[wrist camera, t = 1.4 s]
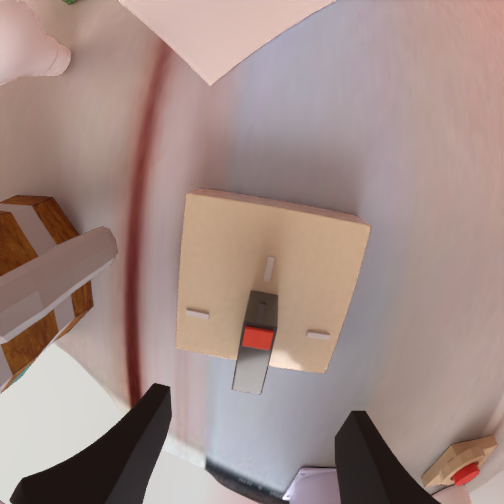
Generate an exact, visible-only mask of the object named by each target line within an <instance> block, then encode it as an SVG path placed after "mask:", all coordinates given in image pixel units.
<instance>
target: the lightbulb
mask: <svg viewBox="0 0 504 504" xmlns="http://www.w3.org/2000/svg"><path fill="white" fill-rule="evenodd" d="M70 61H71V51H70V50H69V49H68V48H66V47H64V46H63V45H61V44H58V43H57V41H56V40H55V39H54V38H52V37H50V36H48V35H47V34H46V33H44V32H43V30H42V29H41V28H40V25H39V23H38V20H37V18H36V16H35V14H34V12H33V11H32V9H31V8H30V7H29V6H28V5H27V4H25V3H23V2H21V1H18V0H1V1H0V86H1V85H4V84H6V83H8V82H10V81H11V80H13V79H15V78H18V77H22V76H41V75H46V76H53V77H56V76H59V75H60V74H62V73H63V72H64V71H65V70H66V69H67V67H68V66H69V64H70Z"/></svg>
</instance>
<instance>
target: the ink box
mask: <svg viewBox="0 0 504 504" xmlns="http://www.w3.org/2000/svg"><path fill="white" fill-rule="evenodd" d="M63 1H64V2H66V3H67V4H71V3H73V2H74V1H76V0H63Z"/></svg>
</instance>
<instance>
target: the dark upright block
mask: <svg viewBox="0 0 504 504" xmlns="http://www.w3.org/2000/svg"><path fill="white" fill-rule="evenodd" d="M278 300H279V296H278V295H276V294H270V293H264V292H259V291H253V290H251V291H250V294H249V299H248V303H247V307H246V312H245V316H244V320H243V325H242V331H241V337H240V343H239V349H238V355H237V361H236V367H235V372H234V378H233V384H232V390H236V391H242V392H247V393H253V394H259V395H260V394H261V393H262V389H263V385H264V381H265V378H266V374H267V370H268V366H269V362H270V358H271V354H272V350H273V346H274V341H275V337H276V333H277V329H278Z"/></svg>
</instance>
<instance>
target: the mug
mask: <svg viewBox="0 0 504 504" xmlns="http://www.w3.org/2000/svg"><path fill="white" fill-rule="evenodd" d="M117 253H118V250H117V244H116V239H115V238H114V236H113V234H112V232H111V231H110V229H109V228H106V227H104V226H102V227H99V228H96V229H94V230H91V231H89V232H86V233H84V234H82V235H79V234H78V233H77V232H76V230H75V229H74V228H73V226H72V225H71V223H70V222H69V220H68V219H67V218H66V216H65V215H64V213H63V212H62V210H61V209H60V207H59V206H58V204H57V203H56V201H55V200H54V198H53V197H43V196H21V195H16V196H14V197H11V198H9V199H7V200H5V201H2V202H0V394H1V393H2V392H3V391H4V390H6V389H7V388H8V387H9V386H10V385H12V384H13V383H14V382H16V381H17V380H18V379H19V378H20V377H21V376H23V374H24V373H25V372H26V371H27V369H28V368H29V367H30V366H31V364H32V363H33V362H34V361H35V359H36V358H37V357H38V356H39V355H40V354H41V353H42V352H43V351H44V350H45V349H46V348H47V347H48V346H49V345H50V344H52V343H53V342H54V341H55V340H57V339H58V338H60V337H61V336H63V335H65V334H66V333H68V332H69V331H70V330H71V329H72V328H73V327H74V326H75V325H76V323H77V322H78V321H79V320H80V319H81V318H82V317H83V316H84V315H85V314H86V313H87V312H88V311H89V310H90V309H91V308H92V307H93V300H92V292H91V283H90V280H91V279H92V278H93V277H95V276H96V275H98V274H99V273H100V272H102V271H103V270H104V269H106V268H107V267H108V266H110V265H111V264H112V262H113V261H114V259H115V257H116V255H117Z"/></svg>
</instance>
